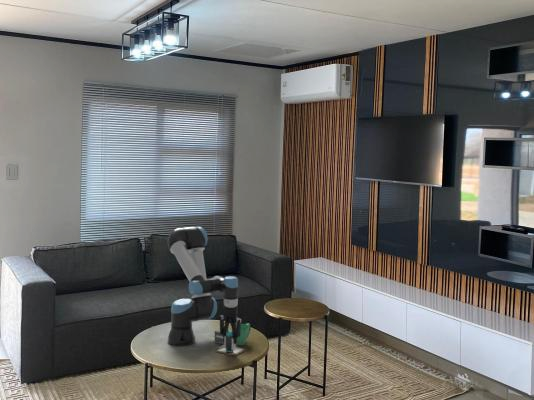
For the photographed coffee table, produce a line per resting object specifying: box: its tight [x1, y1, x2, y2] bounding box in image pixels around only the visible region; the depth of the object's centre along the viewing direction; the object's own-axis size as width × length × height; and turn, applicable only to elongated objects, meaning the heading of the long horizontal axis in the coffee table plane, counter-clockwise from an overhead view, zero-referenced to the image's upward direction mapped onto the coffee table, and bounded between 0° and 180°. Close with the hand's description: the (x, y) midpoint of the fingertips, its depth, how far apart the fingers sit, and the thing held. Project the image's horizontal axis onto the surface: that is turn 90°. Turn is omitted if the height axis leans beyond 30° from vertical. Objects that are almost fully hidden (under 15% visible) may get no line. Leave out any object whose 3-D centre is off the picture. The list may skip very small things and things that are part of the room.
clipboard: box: [214, 344, 247, 358], centre depth 309 cm, size 13×11×1 cm
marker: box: [226, 329, 234, 353], centre depth 304 cm, size 4×4×11 cm
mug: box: [236, 323, 252, 346], centre depth 322 cm, size 15×10×10 cm
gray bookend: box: [212, 330, 224, 345], centre depth 321 cm, size 8×3×6 cm, turn 62°
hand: (229, 348), depth 305 cm, fingers closed on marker, 4 cm apart
